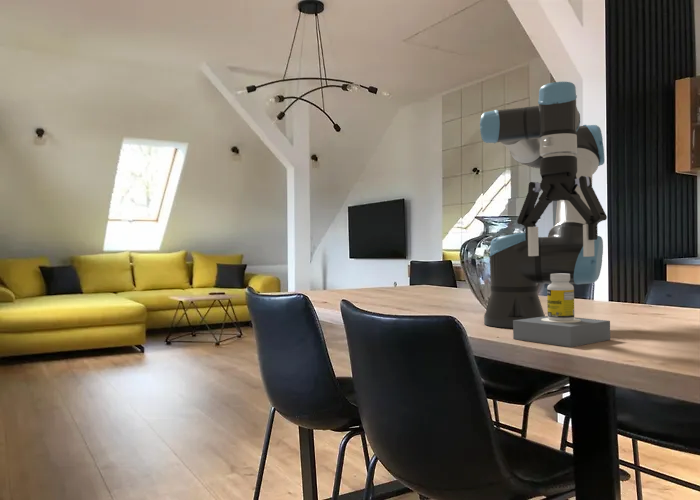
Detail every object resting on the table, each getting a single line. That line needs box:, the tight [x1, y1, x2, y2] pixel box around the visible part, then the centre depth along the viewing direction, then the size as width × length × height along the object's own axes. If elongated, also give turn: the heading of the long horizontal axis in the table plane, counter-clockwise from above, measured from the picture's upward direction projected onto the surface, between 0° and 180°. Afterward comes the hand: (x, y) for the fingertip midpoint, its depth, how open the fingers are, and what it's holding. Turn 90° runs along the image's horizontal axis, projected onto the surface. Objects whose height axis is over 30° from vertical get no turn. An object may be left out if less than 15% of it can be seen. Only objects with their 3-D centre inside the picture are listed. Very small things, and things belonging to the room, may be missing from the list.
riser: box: [512, 315, 611, 348], centre depth 126 cm, size 14×14×4 cm
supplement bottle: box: [546, 273, 575, 321], centre depth 126 cm, size 5×5×10 cm
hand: (560, 256), depth 126 cm, fingers open, 13 cm apart
